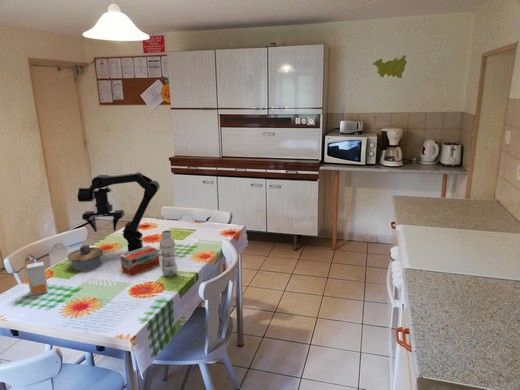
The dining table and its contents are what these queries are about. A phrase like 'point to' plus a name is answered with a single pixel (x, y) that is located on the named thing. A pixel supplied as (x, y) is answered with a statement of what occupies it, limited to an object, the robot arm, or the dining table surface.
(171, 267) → the plastic bottle
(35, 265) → the skincare box
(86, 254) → the walnut lid
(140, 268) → the red printed carton
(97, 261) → the slate bowl
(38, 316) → the dining table surface
